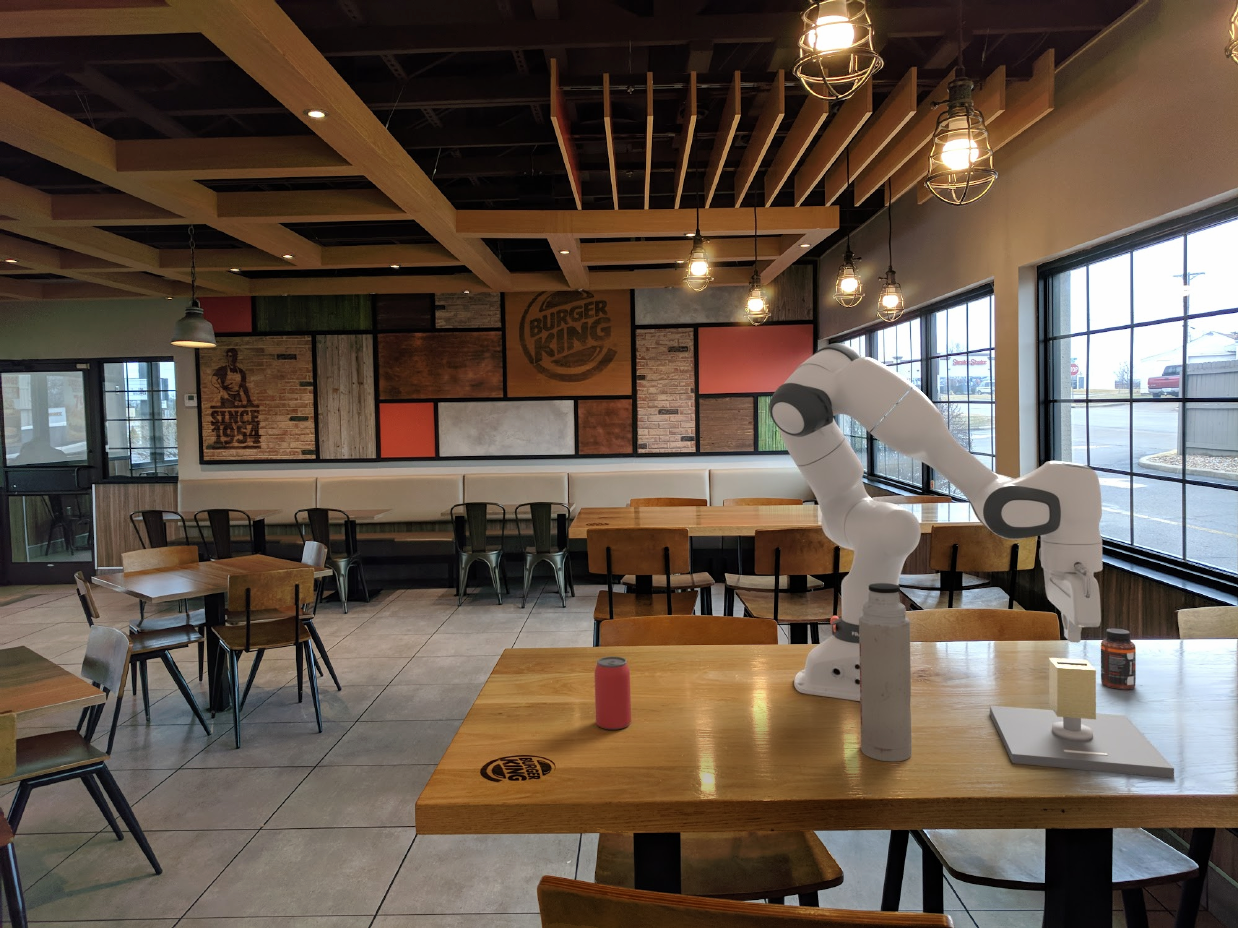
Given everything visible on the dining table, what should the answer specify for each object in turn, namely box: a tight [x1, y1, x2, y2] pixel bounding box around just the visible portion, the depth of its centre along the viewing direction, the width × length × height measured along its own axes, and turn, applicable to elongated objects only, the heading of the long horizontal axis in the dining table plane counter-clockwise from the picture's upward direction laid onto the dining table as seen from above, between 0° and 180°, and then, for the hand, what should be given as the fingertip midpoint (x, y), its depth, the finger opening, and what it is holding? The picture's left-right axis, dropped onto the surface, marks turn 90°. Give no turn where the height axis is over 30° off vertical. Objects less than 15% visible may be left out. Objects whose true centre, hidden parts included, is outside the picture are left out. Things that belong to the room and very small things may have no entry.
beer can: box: [594, 656, 632, 731], centre depth 143 cm, size 7×7×12 cm
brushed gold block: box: [1048, 657, 1097, 719], centre depth 129 cm, size 6×6×8 cm
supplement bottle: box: [1100, 628, 1137, 690], centre depth 156 cm, size 6×6×11 cm
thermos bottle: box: [859, 583, 913, 763], centre depth 127 cm, size 8×8×28 cm
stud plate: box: [989, 705, 1175, 779], centre depth 129 cm, size 22×22×10 cm
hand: (1072, 640), depth 128 cm, fingers closed
